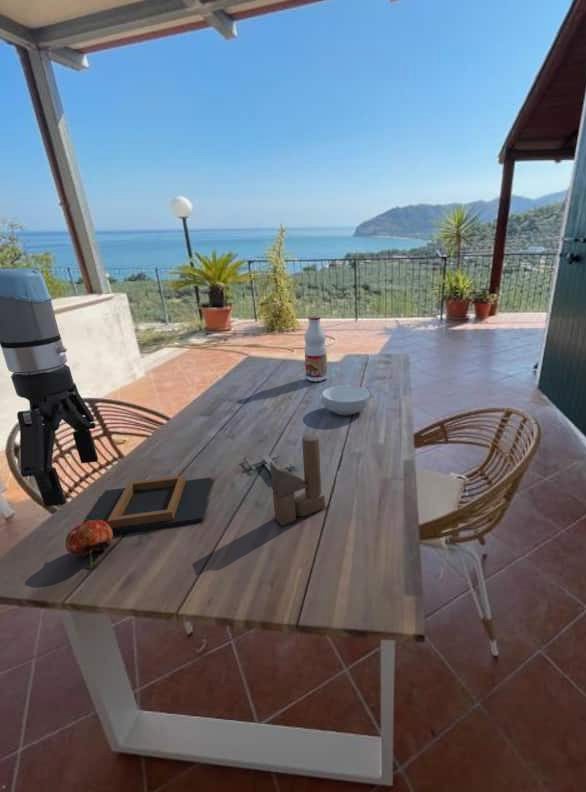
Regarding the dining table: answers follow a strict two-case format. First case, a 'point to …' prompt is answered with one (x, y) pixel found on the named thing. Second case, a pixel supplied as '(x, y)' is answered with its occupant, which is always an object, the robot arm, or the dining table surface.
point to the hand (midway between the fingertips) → (74, 481)
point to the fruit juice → (315, 349)
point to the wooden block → (298, 485)
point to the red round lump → (89, 538)
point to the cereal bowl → (345, 399)
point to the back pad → (153, 504)
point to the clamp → (267, 463)
